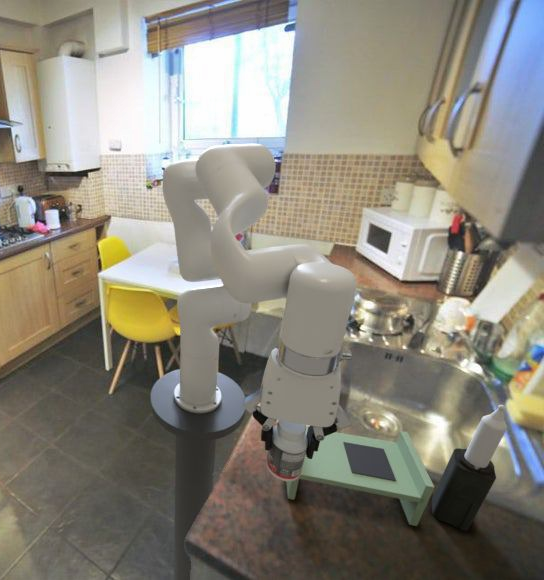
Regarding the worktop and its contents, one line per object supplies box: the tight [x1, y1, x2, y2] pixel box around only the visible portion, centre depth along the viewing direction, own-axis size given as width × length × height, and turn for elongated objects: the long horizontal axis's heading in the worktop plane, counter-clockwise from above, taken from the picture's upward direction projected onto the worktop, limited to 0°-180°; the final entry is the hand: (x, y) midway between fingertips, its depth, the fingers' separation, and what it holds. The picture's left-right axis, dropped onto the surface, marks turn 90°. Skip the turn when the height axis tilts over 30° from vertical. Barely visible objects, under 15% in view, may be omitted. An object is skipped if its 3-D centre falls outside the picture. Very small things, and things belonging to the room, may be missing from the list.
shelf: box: [285, 427, 436, 527], centre depth 69 cm, size 12×21×10 cm, turn 75°
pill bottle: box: [265, 420, 308, 482], centre depth 57 cm, size 5×5×10 cm
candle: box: [431, 404, 508, 531], centre depth 60 cm, size 5×5×25 cm
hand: (287, 446), depth 57 cm, fingers closed on pill bottle, 5 cm apart
